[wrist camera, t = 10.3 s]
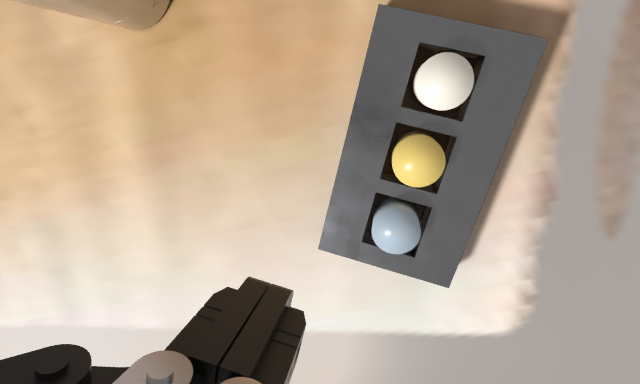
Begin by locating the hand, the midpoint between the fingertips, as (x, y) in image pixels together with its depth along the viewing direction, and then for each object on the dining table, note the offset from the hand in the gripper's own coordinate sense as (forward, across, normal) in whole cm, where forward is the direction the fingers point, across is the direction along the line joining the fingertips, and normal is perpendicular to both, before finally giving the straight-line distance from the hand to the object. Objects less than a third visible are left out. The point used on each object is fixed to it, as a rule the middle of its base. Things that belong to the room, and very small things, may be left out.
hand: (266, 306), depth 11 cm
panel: (+27, -6, -2) cm, 28 cm away
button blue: (+26, -6, +5) cm, 28 cm away
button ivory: (+26, -6, -9) cm, 29 cm away
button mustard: (+26, -6, -2) cm, 27 cm away
